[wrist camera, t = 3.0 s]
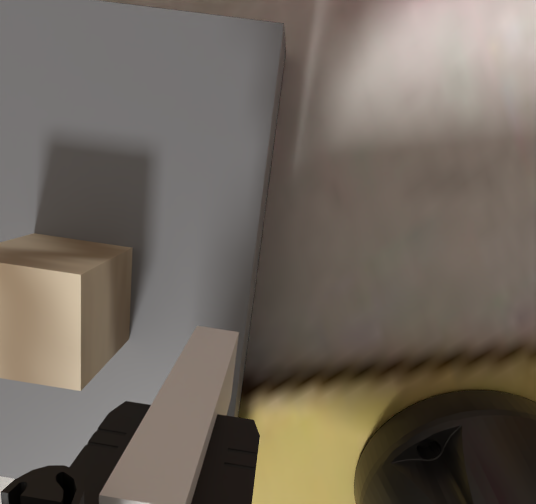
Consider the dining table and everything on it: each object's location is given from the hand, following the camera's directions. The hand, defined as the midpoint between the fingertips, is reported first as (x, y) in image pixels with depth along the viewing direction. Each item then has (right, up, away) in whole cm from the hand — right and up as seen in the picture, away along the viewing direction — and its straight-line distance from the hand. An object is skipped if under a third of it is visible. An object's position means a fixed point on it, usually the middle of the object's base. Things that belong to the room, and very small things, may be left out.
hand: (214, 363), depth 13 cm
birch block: (-8, +2, +5) cm, 10 cm away
